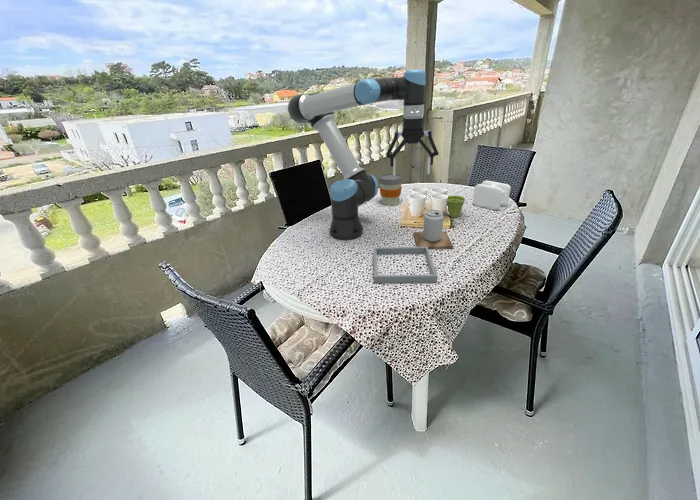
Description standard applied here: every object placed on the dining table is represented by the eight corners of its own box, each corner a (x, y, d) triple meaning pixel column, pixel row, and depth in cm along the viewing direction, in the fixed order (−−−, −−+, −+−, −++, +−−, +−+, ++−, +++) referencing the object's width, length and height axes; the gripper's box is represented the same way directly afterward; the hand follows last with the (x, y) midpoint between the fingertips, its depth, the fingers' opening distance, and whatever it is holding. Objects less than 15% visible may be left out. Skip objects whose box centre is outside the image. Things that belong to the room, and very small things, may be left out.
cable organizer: (470, 205, 166) (473, 183, 160) (481, 199, 172) (484, 179, 166) (497, 211, 155) (501, 189, 150) (508, 206, 161) (512, 184, 156)
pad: (417, 249, 126) (417, 246, 125) (413, 234, 138) (413, 232, 137) (452, 248, 125) (453, 246, 124) (445, 233, 137) (445, 231, 136)
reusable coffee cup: (405, 201, 176) (406, 174, 169) (395, 208, 167) (396, 180, 160) (385, 198, 182) (385, 172, 175) (375, 205, 173) (374, 178, 166)
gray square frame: (374, 283, 106) (374, 276, 105) (374, 253, 125) (373, 247, 124) (437, 282, 105) (437, 276, 104) (427, 252, 123) (427, 246, 122)
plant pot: (448, 210, 160) (449, 194, 156) (466, 214, 155) (468, 197, 151) (440, 216, 154) (441, 199, 150) (458, 220, 149) (460, 203, 145)
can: (441, 243, 127) (444, 215, 121) (423, 242, 128) (424, 215, 123) (441, 235, 133) (443, 208, 127) (423, 234, 135) (424, 208, 129)
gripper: (380, 120, 114) (380, 177, 124) (449, 116, 112) (444, 175, 122) (379, 118, 121) (379, 172, 131) (445, 114, 119) (440, 170, 129)
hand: (411, 174), depth 126 cm, fingers open, 13 cm apart
